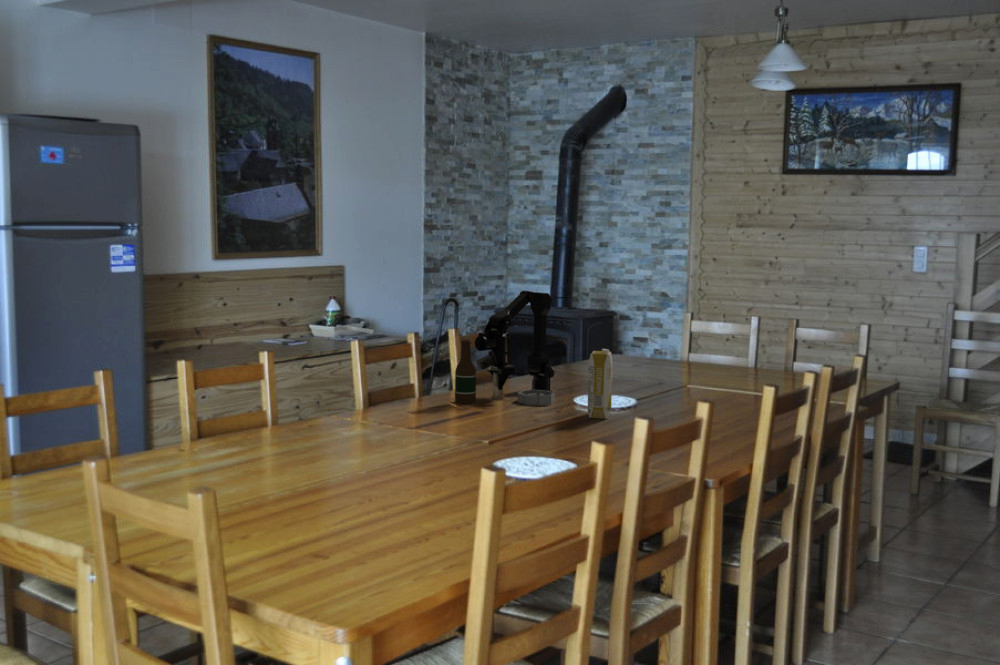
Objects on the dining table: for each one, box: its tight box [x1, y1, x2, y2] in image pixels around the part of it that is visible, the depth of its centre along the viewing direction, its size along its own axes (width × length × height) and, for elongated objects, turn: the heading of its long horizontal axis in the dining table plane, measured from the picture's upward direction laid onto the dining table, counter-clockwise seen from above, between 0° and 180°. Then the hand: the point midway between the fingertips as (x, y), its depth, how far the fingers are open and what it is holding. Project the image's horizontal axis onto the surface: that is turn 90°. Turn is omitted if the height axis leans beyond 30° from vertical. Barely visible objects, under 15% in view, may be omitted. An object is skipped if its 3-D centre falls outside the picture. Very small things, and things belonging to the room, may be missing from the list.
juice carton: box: [587, 348, 614, 420], centre depth 346 cm, size 9×8×24 cm
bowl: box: [517, 389, 556, 408], centre depth 370 cm, size 13×13×4 cm
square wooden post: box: [492, 372, 504, 399], centre depth 376 cm, size 3×3×10 cm
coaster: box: [482, 395, 514, 402], centre depth 376 cm, size 9×9×1 cm
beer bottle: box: [454, 339, 477, 405], centre depth 366 cm, size 8×8×24 cm
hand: (498, 389), depth 376 cm, fingers closed on square wooden post, 3 cm apart
